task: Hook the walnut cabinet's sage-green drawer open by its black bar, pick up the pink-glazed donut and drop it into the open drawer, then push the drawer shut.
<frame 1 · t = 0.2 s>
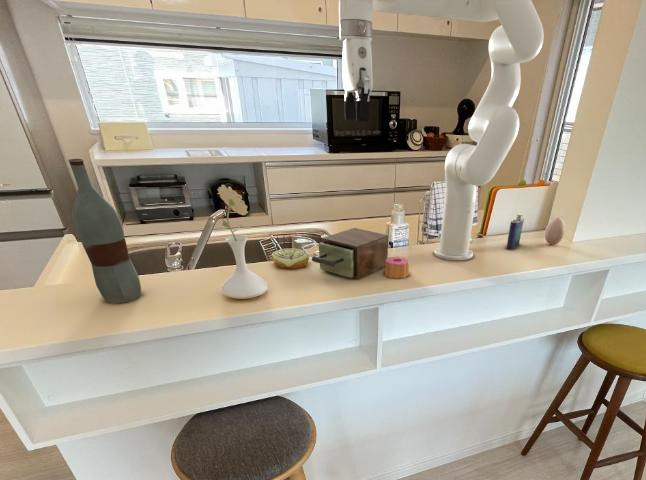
hand: (356, 120, 106), 37 cm above the countertop, tool pointing down, fingers open, 9 cm apart
drawer: (344, 256, 118), point 5 cm above the countertop, slide at 1.0 cm
donut: (396, 274, 121), on the countertop
bottle: (123, 297, 103), on the countertop
flower in vase: (245, 293, 107), on the countertop
decorated donut: (291, 264, 126), on the countertop
egg: (551, 245, 150), on the countertop
cabinet: (356, 267, 124), on the countertop
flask: (512, 247, 147), on the countertop
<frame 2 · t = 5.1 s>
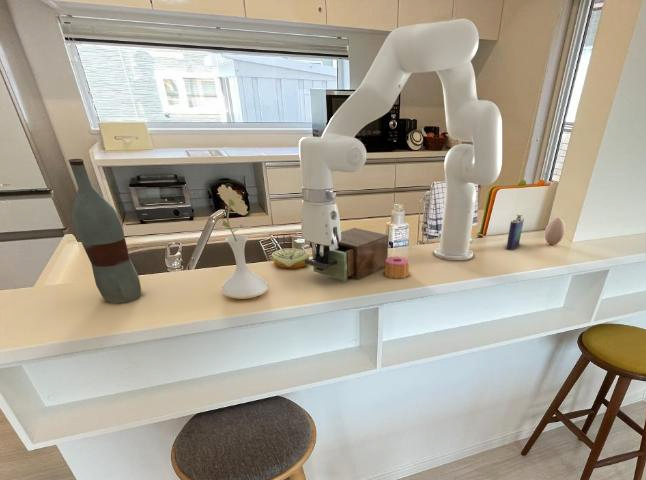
hand: (322, 268, 113), 4 cm above the countertop, tool pointing down, fingers closed
drawer: (337, 259, 116), point 5 cm above the countertop, slide at 3.7 cm, touching gripper
everything else where it was.
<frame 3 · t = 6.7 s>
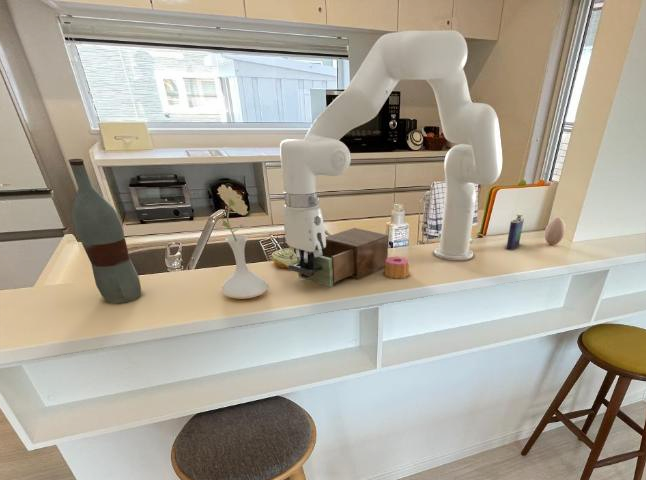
hand: (307, 275, 109), 3 cm above the countertop, tool pointing down, fingers closed
drawer: (323, 264, 112), point 5 cm above the countertop, slide at 9.6 cm
everything else where it was.
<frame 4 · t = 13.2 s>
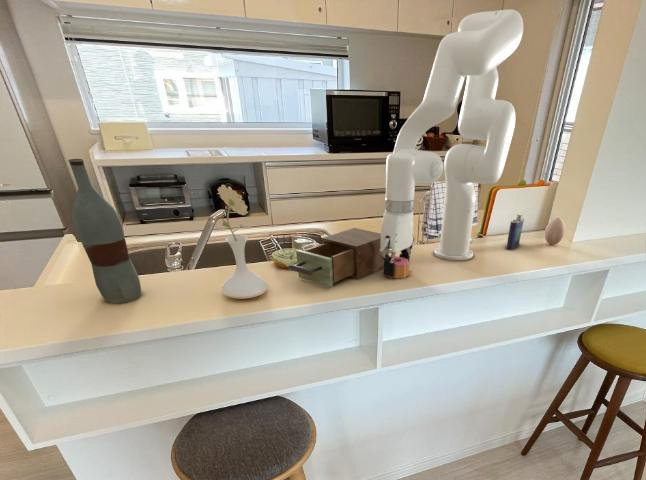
hand: (396, 271, 120), 1 cm above the countertop, tool pointing down, fingers closed on donut, 7 cm apart
donut: (396, 274, 121), on the countertop, touching gripper
everything else where it was.
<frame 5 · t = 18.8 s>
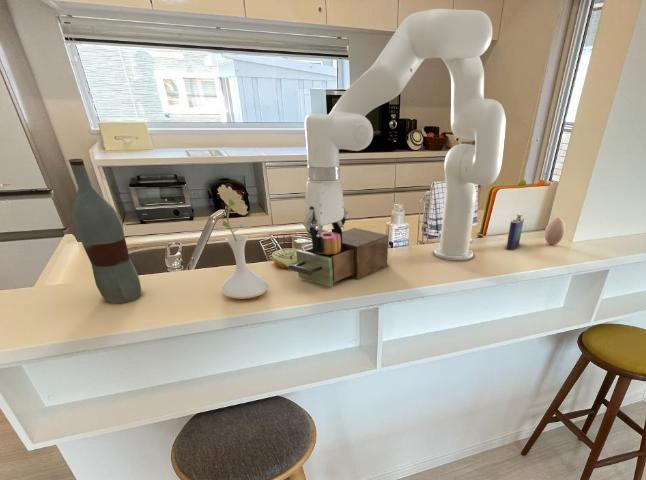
hand: (327, 247, 111), 9 cm above the countertop, tool pointing down, fingers closed on donut, 7 cm apart
donut: (328, 250, 112), point 8 cm above the countertop, touching gripper
everything else where it was.
when the fingers open (10 cm above the countertop, at t = 27.8 s): donut drops 7 cm, resting on drawer.
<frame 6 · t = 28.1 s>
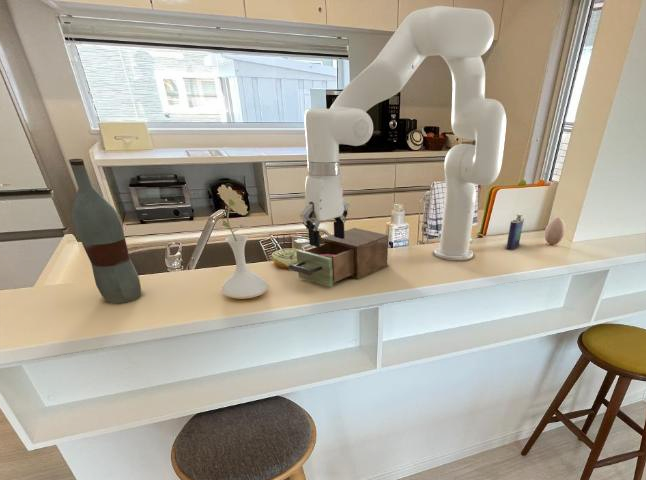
hand: (327, 241, 110), 10 cm above the countertop, tool pointing down, fingers open, 9 cm apart
drawer: (323, 264, 112), point 5 cm above the countertop, slide at 9.6 cm, touching donut
donut: (327, 272, 115), point 2 cm above the countertop, touching drawer
everything else where it was.
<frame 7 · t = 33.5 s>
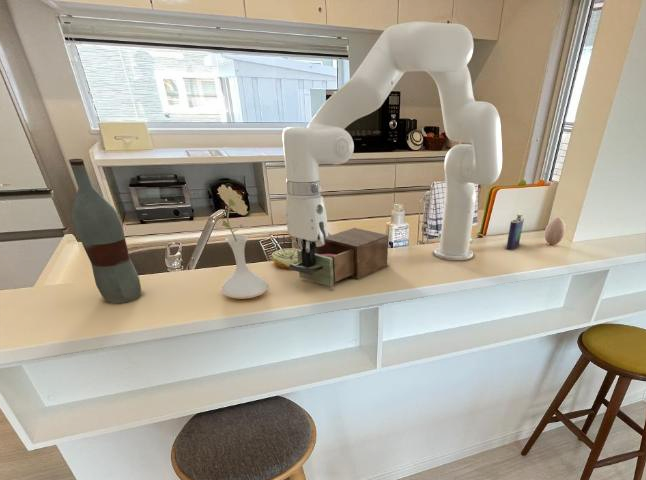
hand: (309, 265, 108), 6 cm above the countertop, tool pointing down, fingers closed
drawer: (324, 264, 112), point 5 cm above the countertop, slide at 9.3 cm, touching donut, gripper
everything else where it was.
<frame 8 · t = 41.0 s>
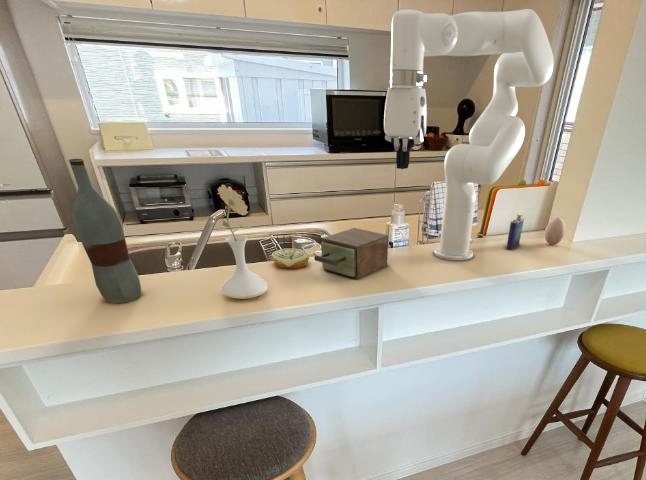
hand: (402, 168, 108), 27 cm above the countertop, tool pointing down, fingers closed
drawer: (346, 256, 119), point 5 cm above the countertop, slide at 0.0 cm, touching cabinet, donut
donut: (349, 263, 121), point 2 cm above the countertop, touching drawer
everything else where it was.
at the end: drawer pulled out 9.6 cm at the most during the clip, back to where it started at the end; donut inside the target area in the cabinet (3.0 cm from its centre), point 2.0 cm above the cabinet's base; drawer slide at 0.0 cm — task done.
